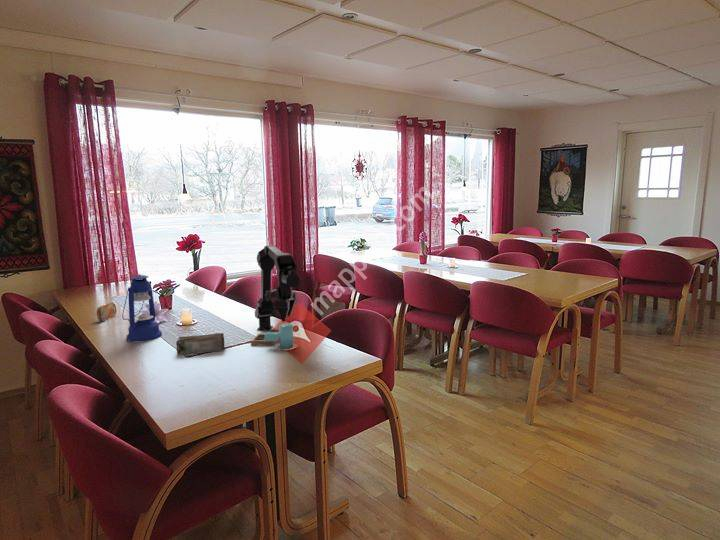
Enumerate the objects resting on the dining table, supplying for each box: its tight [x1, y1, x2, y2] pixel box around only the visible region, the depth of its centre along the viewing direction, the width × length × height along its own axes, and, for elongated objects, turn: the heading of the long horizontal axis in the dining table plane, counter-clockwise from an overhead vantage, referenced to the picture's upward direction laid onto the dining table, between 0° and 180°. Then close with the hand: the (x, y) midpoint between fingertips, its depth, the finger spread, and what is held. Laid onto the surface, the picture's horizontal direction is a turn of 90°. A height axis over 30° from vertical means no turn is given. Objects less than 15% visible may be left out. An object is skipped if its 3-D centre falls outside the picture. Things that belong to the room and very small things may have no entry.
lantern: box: [122, 274, 162, 342], centre depth 216 cm, size 17×15×30 cm
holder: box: [250, 333, 277, 346], centre depth 209 cm, size 10×10×2 cm
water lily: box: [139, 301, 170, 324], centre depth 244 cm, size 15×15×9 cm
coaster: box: [276, 344, 291, 351], centre depth 201 cm, size 9×9×1 cm
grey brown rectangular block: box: [175, 332, 225, 356], centre depth 199 cm, size 8×19×7 cm, turn 104°
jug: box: [264, 323, 295, 349], centre depth 201 cm, size 12×6×10 cm, turn 88°
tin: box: [96, 302, 117, 322], centre depth 250 cm, size 15×3×8 cm, turn 179°
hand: (286, 318), depth 199 cm, fingers open, 9 cm apart
